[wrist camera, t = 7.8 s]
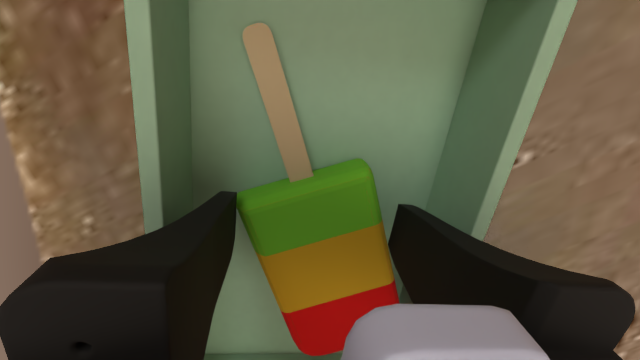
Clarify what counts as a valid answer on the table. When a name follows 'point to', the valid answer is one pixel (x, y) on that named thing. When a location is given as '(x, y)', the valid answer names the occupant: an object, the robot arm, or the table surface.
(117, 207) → the table surface
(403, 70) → the tote
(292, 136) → the popsicle
